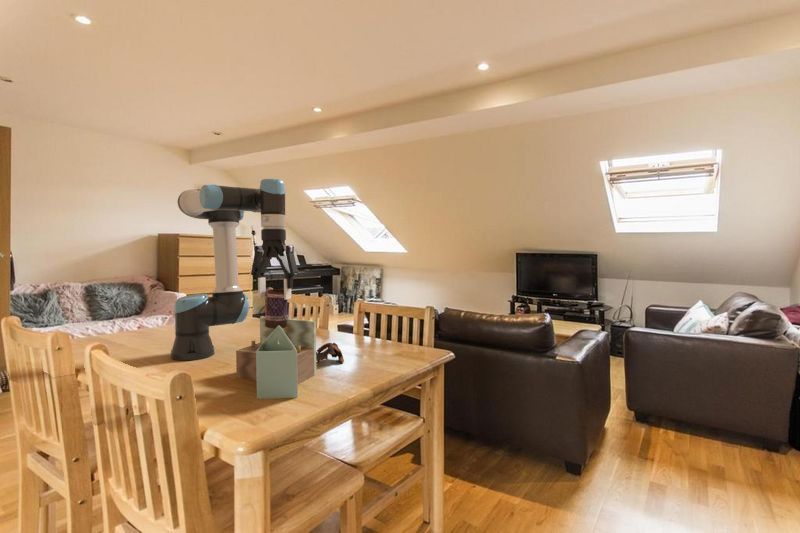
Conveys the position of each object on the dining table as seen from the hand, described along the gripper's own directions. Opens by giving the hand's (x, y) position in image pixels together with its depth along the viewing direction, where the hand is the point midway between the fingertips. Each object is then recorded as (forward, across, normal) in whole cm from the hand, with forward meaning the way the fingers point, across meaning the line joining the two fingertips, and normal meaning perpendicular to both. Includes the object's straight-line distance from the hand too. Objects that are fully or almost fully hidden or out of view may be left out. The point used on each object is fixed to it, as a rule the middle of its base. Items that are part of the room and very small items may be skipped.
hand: (274, 298), depth 134 cm
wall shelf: (+26, -1, +2) cm, 26 cm away
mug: (+9, -1, 0) cm, 9 cm away
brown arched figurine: (+26, +7, +22) cm, 35 cm away
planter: (+26, +8, -13) cm, 30 cm away
